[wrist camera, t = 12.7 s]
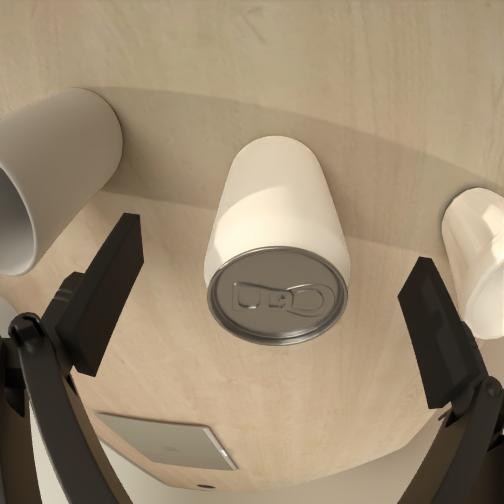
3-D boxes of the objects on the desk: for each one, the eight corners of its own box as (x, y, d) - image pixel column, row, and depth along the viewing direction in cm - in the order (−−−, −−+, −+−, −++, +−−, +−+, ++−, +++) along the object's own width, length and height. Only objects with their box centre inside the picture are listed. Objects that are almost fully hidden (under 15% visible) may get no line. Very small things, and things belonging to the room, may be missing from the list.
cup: (504, 147, 18) (577, 207, 11) (513, 237, 23) (560, 304, 16) (406, 193, 22) (458, 274, 15) (431, 278, 27) (465, 357, 20)
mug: (138, 105, 19) (43, 170, 10) (111, 203, 24) (42, 300, 15) (15, 68, 17) (-91, 114, 8) (5, 158, 21) (-77, 227, 13)
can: (314, 219, 24) (337, 353, 15) (229, 213, 24) (201, 346, 15) (327, 138, 20) (378, 244, 11) (230, 130, 20) (189, 231, 11)
